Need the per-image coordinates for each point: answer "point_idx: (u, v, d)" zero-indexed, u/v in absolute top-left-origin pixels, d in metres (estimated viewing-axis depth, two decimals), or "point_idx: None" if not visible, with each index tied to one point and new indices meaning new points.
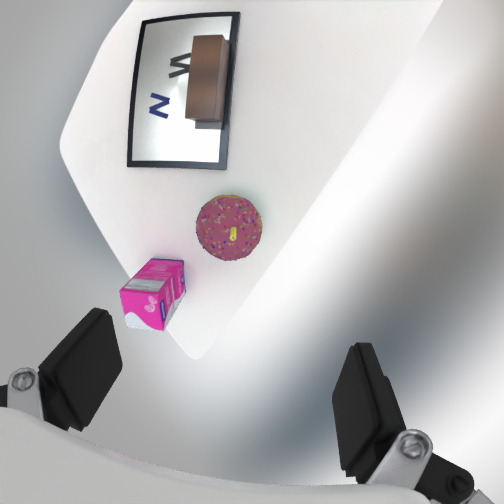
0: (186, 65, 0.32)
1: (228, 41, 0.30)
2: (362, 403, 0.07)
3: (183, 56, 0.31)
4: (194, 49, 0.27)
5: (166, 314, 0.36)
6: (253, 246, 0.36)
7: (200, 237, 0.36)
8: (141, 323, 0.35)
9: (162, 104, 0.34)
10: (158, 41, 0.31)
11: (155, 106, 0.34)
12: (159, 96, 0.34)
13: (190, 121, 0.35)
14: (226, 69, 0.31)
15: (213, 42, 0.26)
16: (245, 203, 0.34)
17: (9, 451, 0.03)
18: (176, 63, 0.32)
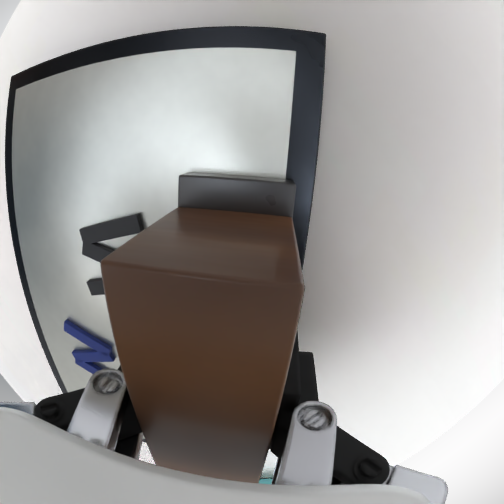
0: None
1: (290, 193, 0.08)
2: None
3: (116, 229, 0.10)
4: (130, 355, 0.05)
5: None
6: None
7: None
8: None
9: (98, 358, 0.13)
10: (42, 153, 0.09)
11: (84, 357, 0.13)
12: (84, 337, 0.12)
13: None
14: None
15: (236, 337, 0.05)
16: None
17: (9, 451, 0.03)
18: (100, 252, 0.10)
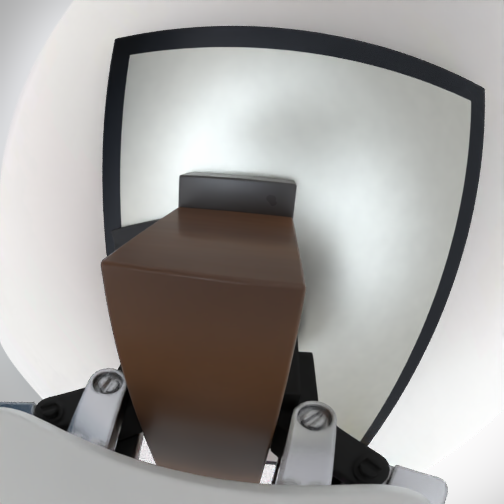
0: None
1: (291, 193, 0.08)
2: None
3: None
4: (130, 356, 0.05)
5: None
6: None
7: None
8: None
9: None
10: (186, 144, 0.09)
11: None
12: None
13: None
14: None
15: (238, 338, 0.05)
16: None
17: (9, 451, 0.03)
18: None
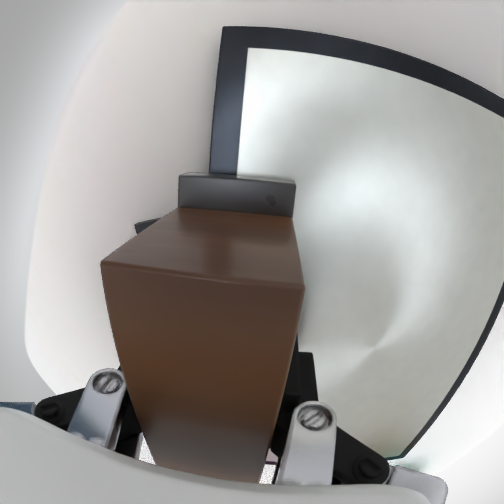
0: None
1: (290, 193, 0.08)
2: None
3: None
4: (130, 356, 0.05)
5: None
6: None
7: None
8: None
9: None
10: (317, 155, 0.09)
11: None
12: None
13: (377, 418, 0.13)
14: None
15: (237, 338, 0.05)
16: None
17: (9, 451, 0.03)
18: None
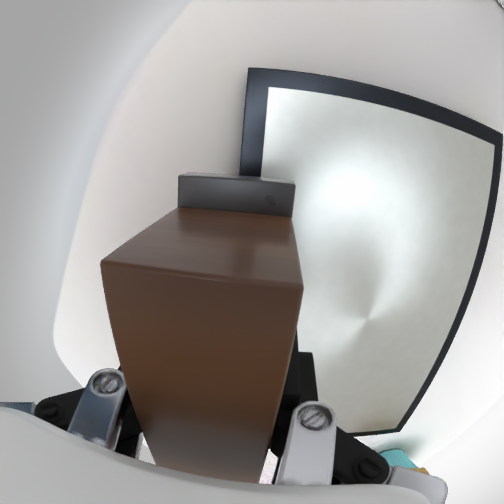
0: None
1: (290, 193, 0.08)
2: None
3: None
4: (130, 355, 0.05)
5: None
6: None
7: None
8: None
9: None
10: (319, 169, 0.12)
11: None
12: None
13: (373, 386, 0.16)
14: None
15: (236, 337, 0.05)
16: None
17: (9, 451, 0.03)
18: None
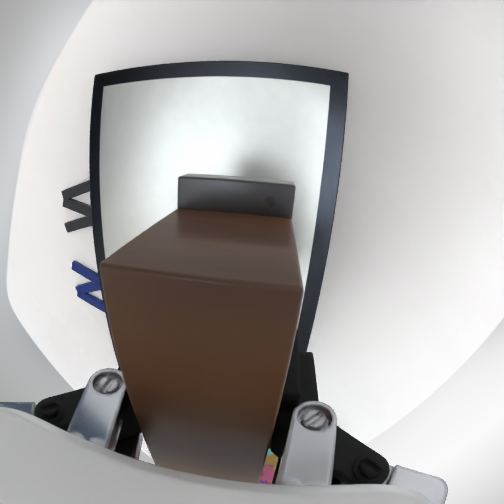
0: (88, 210, 0.17)
1: (290, 194, 0.08)
2: None
3: (80, 189, 0.16)
4: (129, 357, 0.05)
5: None
6: None
7: None
8: None
9: (94, 288, 0.19)
10: (135, 140, 0.14)
11: (84, 289, 0.19)
12: (85, 272, 0.19)
13: None
14: None
15: (236, 339, 0.05)
16: None
17: (9, 451, 0.03)
18: (72, 203, 0.17)
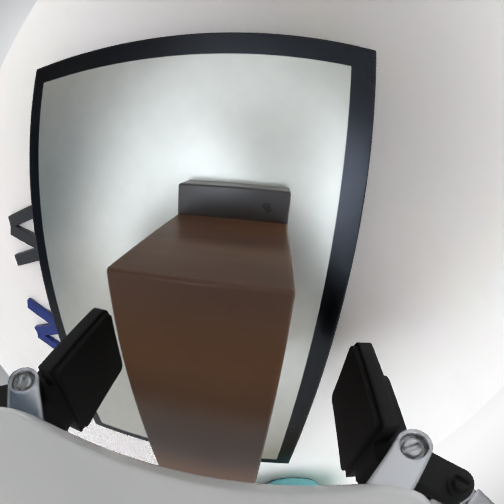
0: (35, 241, 0.12)
1: (285, 200, 0.09)
2: (362, 403, 0.07)
3: (25, 214, 0.12)
4: (134, 355, 0.06)
5: None
6: None
7: None
8: None
9: (53, 331, 0.14)
10: (76, 151, 0.10)
11: (43, 330, 0.14)
12: (41, 312, 0.14)
13: None
14: None
15: (233, 338, 0.05)
16: None
17: (9, 451, 0.03)
18: (19, 232, 0.12)
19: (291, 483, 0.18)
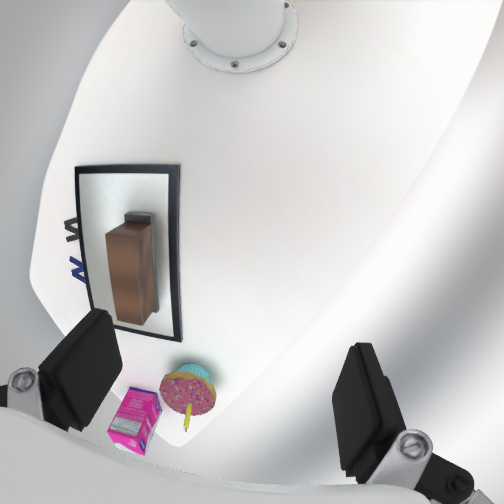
0: (77, 231, 0.34)
1: (149, 218, 0.31)
2: (362, 403, 0.07)
3: (73, 221, 0.34)
4: (109, 252, 0.28)
5: (145, 444, 0.37)
6: (208, 410, 0.37)
7: (164, 401, 0.37)
8: (127, 449, 0.36)
9: (80, 270, 0.37)
10: (94, 201, 0.32)
11: (75, 271, 0.37)
12: (76, 262, 0.36)
13: None
14: (152, 254, 0.33)
15: (125, 246, 0.28)
16: (198, 384, 0.35)
17: (9, 451, 0.03)
18: (69, 228, 0.34)
19: (189, 365, 0.40)
